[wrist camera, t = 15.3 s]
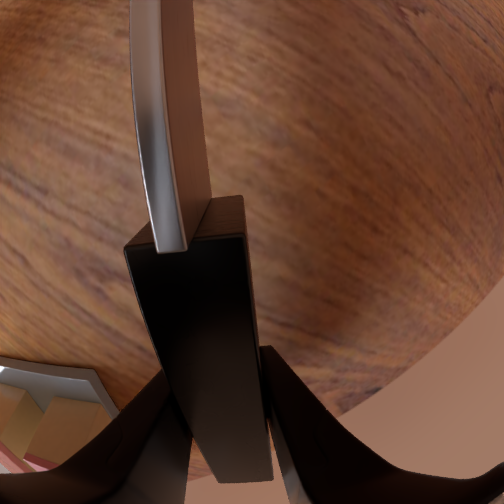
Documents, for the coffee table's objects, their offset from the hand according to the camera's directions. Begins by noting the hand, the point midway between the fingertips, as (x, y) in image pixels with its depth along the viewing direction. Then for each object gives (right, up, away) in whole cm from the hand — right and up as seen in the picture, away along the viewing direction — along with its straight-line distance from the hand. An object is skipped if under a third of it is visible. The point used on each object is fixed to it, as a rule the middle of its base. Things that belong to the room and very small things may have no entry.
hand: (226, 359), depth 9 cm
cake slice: (-10, -9, +6) cm, 15 cm away
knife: (-1, +6, -1) cm, 6 cm away
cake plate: (-14, -9, +7) cm, 18 cm away
